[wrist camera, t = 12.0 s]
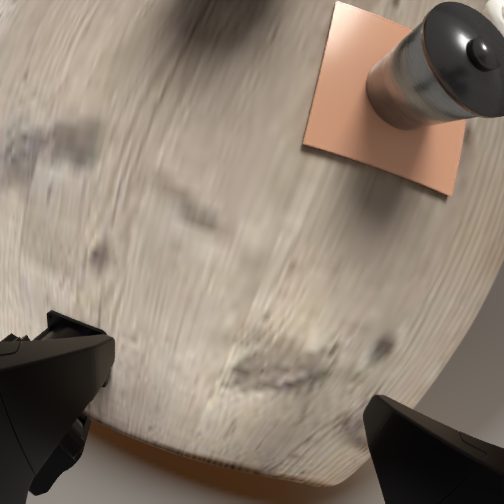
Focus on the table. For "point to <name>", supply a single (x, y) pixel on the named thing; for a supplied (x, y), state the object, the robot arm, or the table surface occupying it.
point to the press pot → (441, 71)
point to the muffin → (495, 13)
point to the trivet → (363, 115)
